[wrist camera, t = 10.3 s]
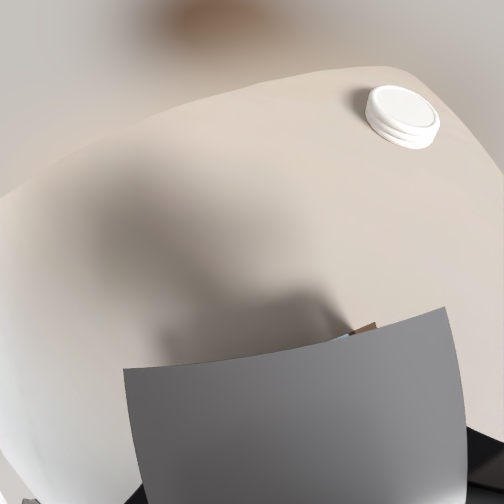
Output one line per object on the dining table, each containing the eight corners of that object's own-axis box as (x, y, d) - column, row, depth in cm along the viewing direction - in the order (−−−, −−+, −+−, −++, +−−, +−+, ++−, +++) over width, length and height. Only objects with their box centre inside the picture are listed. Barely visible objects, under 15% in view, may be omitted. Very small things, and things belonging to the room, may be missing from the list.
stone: (339, 437, 13) (459, 544, 2) (251, 454, 13) (188, 599, 2) (325, 357, 15) (444, 306, 4) (237, 373, 15) (123, 369, 4)
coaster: (354, 100, 34) (357, 81, 30) (413, 104, 33) (419, 86, 30) (380, 151, 29) (388, 130, 26) (443, 152, 29) (453, 134, 26)
